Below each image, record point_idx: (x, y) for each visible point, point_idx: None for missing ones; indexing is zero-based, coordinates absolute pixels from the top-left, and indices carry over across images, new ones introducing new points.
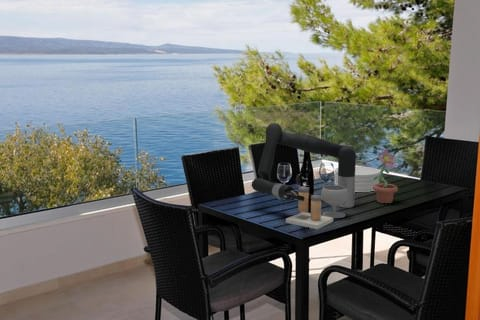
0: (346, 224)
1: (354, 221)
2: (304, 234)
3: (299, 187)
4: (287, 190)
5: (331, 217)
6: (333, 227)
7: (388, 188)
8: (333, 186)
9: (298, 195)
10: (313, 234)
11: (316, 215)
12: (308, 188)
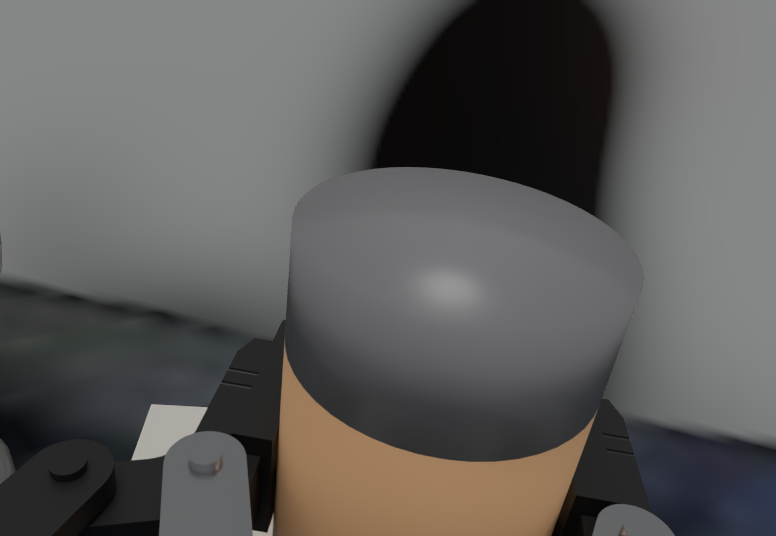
0: (193, 336)
1: (57, 317)
2: (737, 483)
3: (593, 302)
4: None
5: (150, 420)
6: None
7: None
8: None
9: (614, 483)
10: (655, 429)
11: None
12: (417, 178)
